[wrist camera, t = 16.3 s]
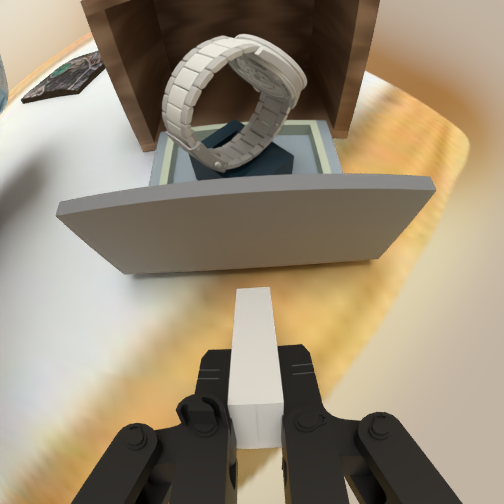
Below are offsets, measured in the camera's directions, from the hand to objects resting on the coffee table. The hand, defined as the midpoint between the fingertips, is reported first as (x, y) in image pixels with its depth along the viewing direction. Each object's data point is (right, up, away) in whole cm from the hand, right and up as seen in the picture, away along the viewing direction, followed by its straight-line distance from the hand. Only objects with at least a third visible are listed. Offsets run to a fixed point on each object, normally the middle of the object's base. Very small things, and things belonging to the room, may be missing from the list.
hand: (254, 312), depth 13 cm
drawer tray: (-1, +8, +8) cm, 11 cm away
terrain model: (-35, +37, +24) cm, 56 cm away
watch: (-1, +8, +7) cm, 11 cm away
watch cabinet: (-1, +20, +15) cm, 25 cm away
